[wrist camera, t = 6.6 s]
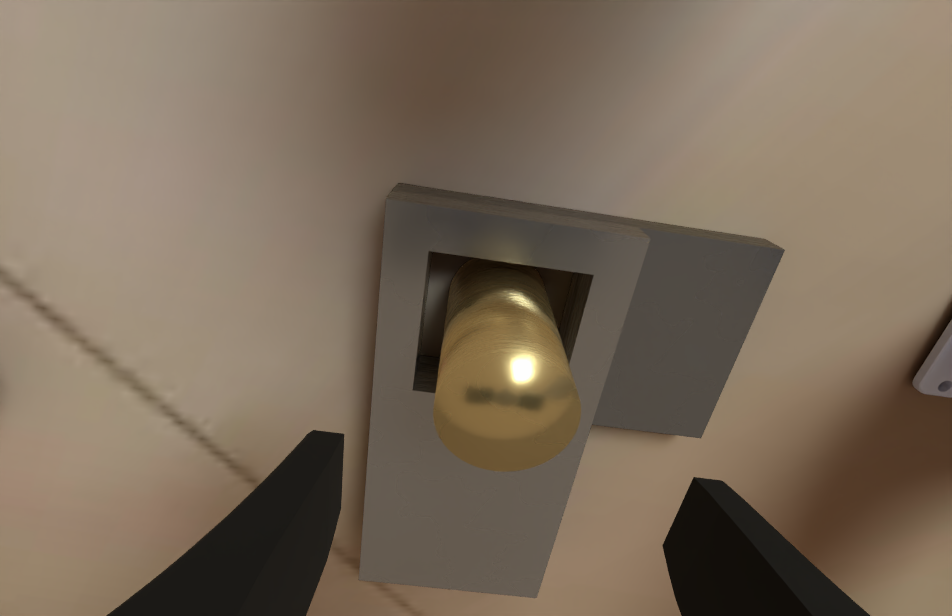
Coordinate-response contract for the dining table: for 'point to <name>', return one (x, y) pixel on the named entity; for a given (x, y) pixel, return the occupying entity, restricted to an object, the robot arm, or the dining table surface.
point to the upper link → (413, 393)
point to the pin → (503, 371)
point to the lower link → (665, 319)
